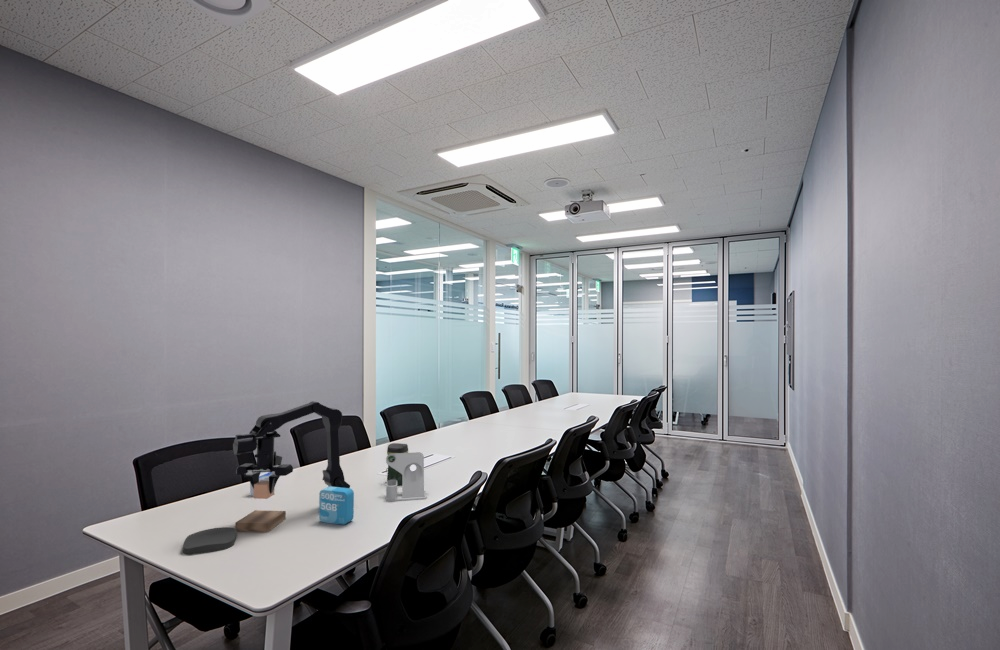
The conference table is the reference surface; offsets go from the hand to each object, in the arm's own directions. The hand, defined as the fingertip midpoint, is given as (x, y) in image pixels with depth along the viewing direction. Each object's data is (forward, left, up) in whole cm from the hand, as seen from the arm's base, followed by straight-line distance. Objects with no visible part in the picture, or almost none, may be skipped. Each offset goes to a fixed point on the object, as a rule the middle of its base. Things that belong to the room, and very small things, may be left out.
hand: (264, 493), depth 173 cm
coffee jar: (-36, -52, -12) cm, 64 cm away
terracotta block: (0, 0, -1) cm, 1 cm away
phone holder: (-45, -33, -12) cm, 57 cm away
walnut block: (0, +1, -11) cm, 11 cm away
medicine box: (+20, -33, -12) cm, 41 cm away
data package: (-26, -4, -12) cm, 28 cm away
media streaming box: (+8, +17, -12) cm, 22 cm away
